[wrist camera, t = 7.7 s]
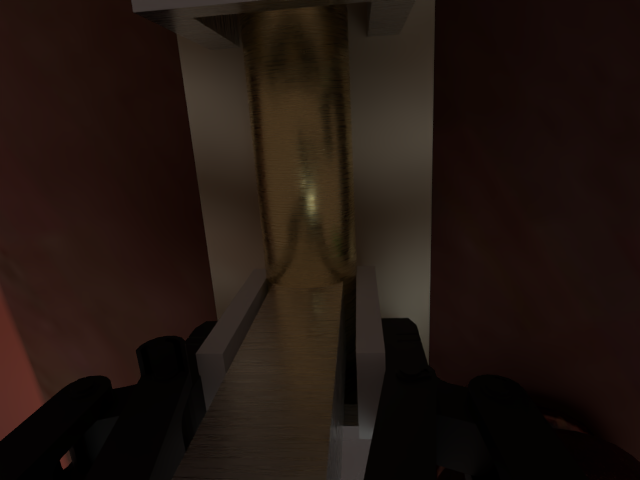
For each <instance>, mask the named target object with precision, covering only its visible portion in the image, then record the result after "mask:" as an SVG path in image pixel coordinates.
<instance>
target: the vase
mask: <svg viewBox="0 0 640 480" xmlns="http://www.w3.org/2000/svg"><path fill="white" fill-rule="evenodd" d="M537 408H538V409H539V410H540V412H541V413H542V415H543V416H544V417H545V419H546V420H547V422H548V423H549V424H550V426H551V427H552V428H553V430H554V431H555V433H556V434H557V435H558V437H559V438H560V440H561V441H562V442H563V444H564V445H565V447H566V448H567V449H568V451H569V452H570V454H571V455H572V456H573V458H574V459H575V461H576V462H577V463H578V465H579V466H580V468H581V469H582V470H583V472H584V473H585V474H586V476H587V477H588V479H589V480H640V462H639V461H638V460H637V459H635V458H634V457H633V456H632V455H630V454H629V453H627V452H626V451H624V450H623V449H621V448H620V447H618V446H616V445H614V444H612V443H610V442H607V441H605V440H603V439H601V438H598V437H596V436H594V435H593V434H592V433H591V432H590V431H589V430H588V429H587V428H586V427H585V426H584V425H582V424H581V423H579V422H578V421H576V420H575V419H573V418H572V417H569V416H567V415H565V414H563V413H560V412H558V411H554V410H551V409H547V408H542V407H537ZM436 480H466V479H465V474H464V473H462V472H459V471H455V470H452V469H448V468H445V467H442V466H438V465H436Z"/></svg>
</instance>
